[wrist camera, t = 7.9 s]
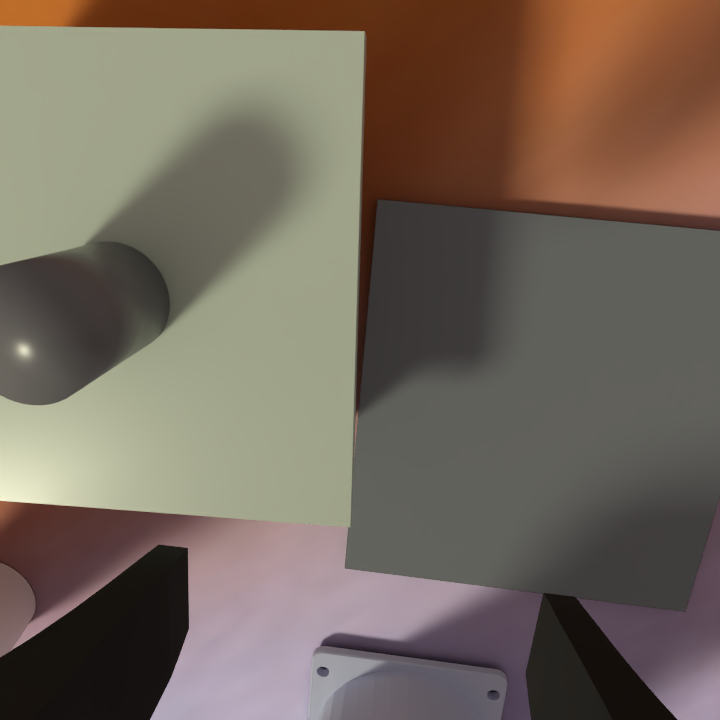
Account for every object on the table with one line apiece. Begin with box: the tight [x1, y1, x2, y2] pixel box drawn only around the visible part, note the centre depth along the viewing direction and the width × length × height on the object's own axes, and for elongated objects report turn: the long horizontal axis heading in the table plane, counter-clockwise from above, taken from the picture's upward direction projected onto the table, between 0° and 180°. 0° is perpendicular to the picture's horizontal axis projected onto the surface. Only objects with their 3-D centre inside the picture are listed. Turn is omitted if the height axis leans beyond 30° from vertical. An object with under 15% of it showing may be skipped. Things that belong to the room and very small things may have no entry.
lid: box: [0, 26, 367, 527], centre depth 15 cm, size 13×13×5 cm
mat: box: [345, 199, 720, 612], centre depth 21 cm, size 14×13×1 cm
